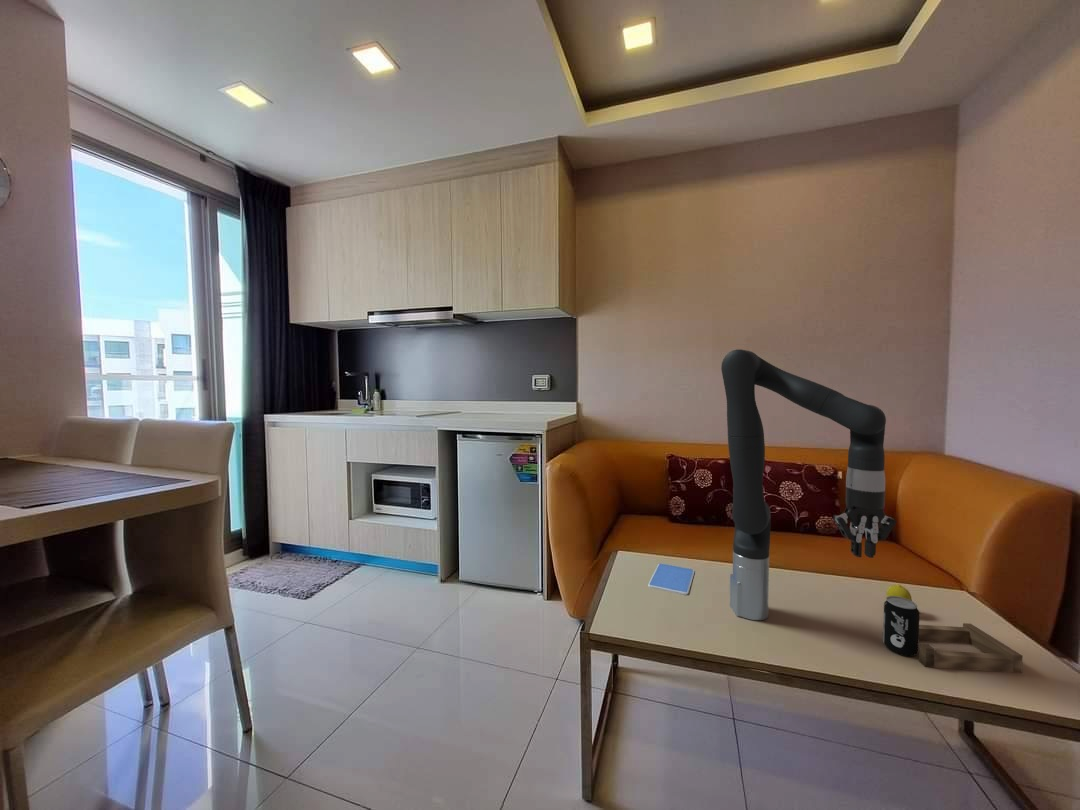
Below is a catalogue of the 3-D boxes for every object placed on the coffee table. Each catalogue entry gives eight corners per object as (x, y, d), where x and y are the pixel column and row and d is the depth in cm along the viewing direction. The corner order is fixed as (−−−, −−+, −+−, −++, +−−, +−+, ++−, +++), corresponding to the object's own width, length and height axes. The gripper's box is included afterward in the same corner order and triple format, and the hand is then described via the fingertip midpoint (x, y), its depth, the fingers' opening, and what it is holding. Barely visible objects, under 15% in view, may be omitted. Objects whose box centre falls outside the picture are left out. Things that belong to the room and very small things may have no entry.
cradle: (925, 666, 95) (925, 648, 95) (886, 634, 108) (886, 617, 108) (1021, 672, 93) (1022, 653, 93) (970, 638, 106) (970, 622, 106)
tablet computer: (658, 565, 151) (658, 562, 151) (695, 572, 146) (695, 568, 146) (647, 588, 134) (647, 584, 134) (688, 597, 129) (688, 593, 128)
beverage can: (925, 659, 98) (926, 610, 97) (893, 656, 99) (894, 607, 99) (906, 642, 104) (908, 596, 104) (876, 639, 106) (878, 593, 105)
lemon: (880, 607, 121) (881, 580, 120) (898, 606, 121) (899, 579, 121) (898, 618, 115) (899, 590, 115) (916, 616, 116) (917, 589, 115)
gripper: (844, 490, 98) (842, 561, 99) (907, 491, 96) (905, 564, 97) (825, 482, 105) (824, 549, 106) (884, 483, 104) (882, 551, 105)
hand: (863, 556), depth 102 cm, fingers closed
